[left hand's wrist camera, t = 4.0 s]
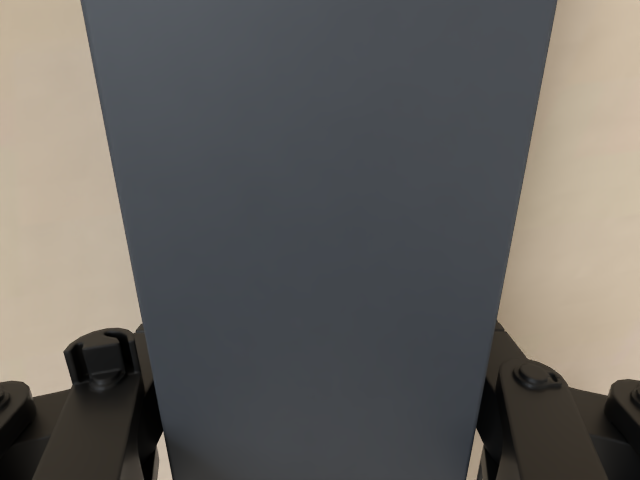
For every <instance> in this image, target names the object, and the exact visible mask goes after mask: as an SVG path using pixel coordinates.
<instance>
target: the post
mask: <svg viewBox="0 0 640 480" xmlns="http://www.w3.org/2000/svg"><path fill="white" fill-rule="evenodd" d="M81 5H82V10H83V15H84V21H85V26H86V31H87V36H88V41H89V47H90V52H91V57H92V62H93V67H94V73H95V78H96V83H97V88H98V93H99V99H100V104H101V109H102V114H103V119H104V125H105V130H106V135H107V140H108V145H109V151H110V156H111V161H112V166H113V171H114V177H115V182H116V187H117V192H118V197H119V203H120V208H121V213H122V218H123V224H124V229H125V234H126V239H127V244H128V250H129V255H130V260H131V265H132V270H133V276H134V281H135V286H136V291H137V296H138V302H139V307H140V312H141V317H142V322H143V328H144V333H145V338H146V343H147V348H148V354H149V359H150V364H151V369H152V374H153V380H154V385H155V390H156V395H157V400H158V406H159V411H160V416H161V421H162V426H163V432H164V437H165V442H166V447H167V453H168V458H169V463H170V468H171V473H172V479H173V480H466V477H467V472H468V467H469V461H470V456H471V451H472V446H473V440H474V435H475V430H476V425H477V419H478V414H479V409H480V404H481V398H482V393H483V388H484V383H485V377H486V372H487V367H488V362H489V356H490V351H491V346H492V341H493V335H494V330H495V325H496V320H497V314H498V309H499V304H500V299H501V293H502V288H503V283H504V278H505V272H506V267H507V262H508V257H509V251H510V246H511V241H512V236H513V230H514V225H515V220H516V215H517V209H518V204H519V199H520V194H521V188H522V183H523V178H524V173H525V167H526V162H527V157H528V152H529V146H530V141H531V136H532V131H533V125H534V120H535V115H536V110H537V104H538V99H539V94H540V89H541V83H542V78H543V73H544V68H545V62H546V57H547V52H548V47H549V41H550V36H551V31H552V26H553V20H554V15H555V10H556V5H557V0H81Z"/></svg>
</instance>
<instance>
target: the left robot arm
mask: <svg viewBox="0 0 640 480" xmlns="http://www.w3.org/2000/svg"><path fill="white" fill-rule="evenodd" d="M64 356H65V359H66V363H67V366H68V370H69V373H70V377H71V380H72V384H73V385H72V388H71V389H68V390H65V391H60V392H56V393H51V394H46V395H42V396H37V397H32V394H31V391H30V388H29V386H28V385H26V384H25V383H24V382H18V381H7V382H1V383H0V480H157V477H158V467H159V456H158V450H157V443H158V441H159V439H160V437H161V435H162V432H163V426H162V421H161V416H160V411H159V406H158V400H157V395H156V390H155V385H154V380H153V374H152V369H151V364H150V359H149V354H148V348H147V343H146V338H145V333H144V328H143V324H141V325H140V326H139V327H138V329H137V330H136V333H134V334H133V333H132V332H130V331H129V330H127V329H122V328H106V329H102V330H98V331H94V332H91V333H89V334H86V335H84V336H82V337H80V338H78V339H77V340H75V341H74V342H72V343H71V344H70V345H69V346H68V347H67V348H66V349H65V350H64ZM476 428H477V430H478V433H479V435H480V437H481V439H482V441H483V443H484V445H483V450H482V455H481V460H480V465H479V470H478V475H477V480H482V479H483V480H640V381H638V380H631V379H625V380H617V381H616V382H615V383H613V384H612V385H611V388H610V391H609V394H608V396H606V395H602V394H597V393H592V392H587V391H583V390H578V389H574V388H571V387H568V384H567V383H566V382H565V380H564V379H563V377H562V376H561V375H560V374H558V373H557V372H556V371H554V370H553V369H552V368H550V367H548V366H546V365H544V364H542V363H540V362H537V361H533V360H529V359H527V358H526V356H525V355H524V354H523V352H522V351H521V350H520V349H519V347H518V346H517V345H516V344H515V342H514V341H513V340H512V338H511V337H510V336H509V335H508V333H507V332H505V331H504V328H503V327H502V326H501V324H500V323H498V322H497V320H496V325H495V330H494V335H493V341H492V346H491V351H490V356H489V362H488V367H487V372H486V377H485V383H484V388H483V393H482V398H481V404H480V409H479V414H478V419H477V425H476Z"/></svg>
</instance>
